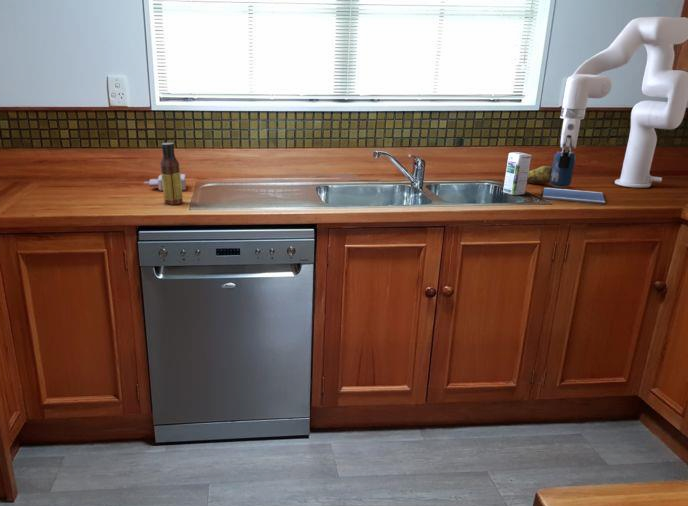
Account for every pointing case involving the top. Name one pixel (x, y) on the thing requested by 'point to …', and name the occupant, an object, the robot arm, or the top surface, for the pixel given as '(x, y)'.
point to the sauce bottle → (171, 176)
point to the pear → (540, 175)
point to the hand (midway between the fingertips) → (563, 165)
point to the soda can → (562, 171)
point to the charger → (159, 182)
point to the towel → (573, 195)
